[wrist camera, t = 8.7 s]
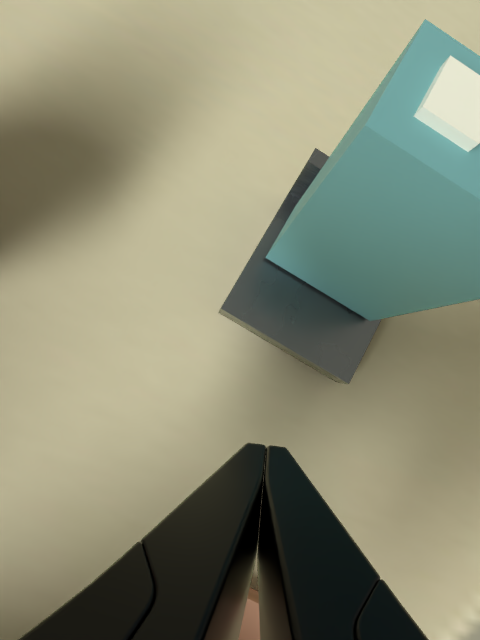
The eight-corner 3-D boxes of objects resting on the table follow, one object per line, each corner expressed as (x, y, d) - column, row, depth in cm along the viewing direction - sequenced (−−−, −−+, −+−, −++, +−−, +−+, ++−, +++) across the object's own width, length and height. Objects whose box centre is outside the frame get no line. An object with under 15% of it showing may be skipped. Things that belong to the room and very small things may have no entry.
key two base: (336, 381, 19) (381, 389, 15) (218, 312, 19) (227, 298, 14) (396, 263, 20) (455, 236, 16) (287, 195, 20) (315, 148, 15)
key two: (375, 324, 18) (624, 279, 8) (265, 257, 17) (372, 115, 7) (401, 273, 18) (668, 166, 8) (294, 206, 18) (434, 6, 8)
